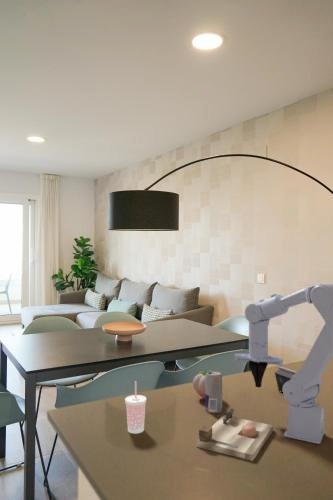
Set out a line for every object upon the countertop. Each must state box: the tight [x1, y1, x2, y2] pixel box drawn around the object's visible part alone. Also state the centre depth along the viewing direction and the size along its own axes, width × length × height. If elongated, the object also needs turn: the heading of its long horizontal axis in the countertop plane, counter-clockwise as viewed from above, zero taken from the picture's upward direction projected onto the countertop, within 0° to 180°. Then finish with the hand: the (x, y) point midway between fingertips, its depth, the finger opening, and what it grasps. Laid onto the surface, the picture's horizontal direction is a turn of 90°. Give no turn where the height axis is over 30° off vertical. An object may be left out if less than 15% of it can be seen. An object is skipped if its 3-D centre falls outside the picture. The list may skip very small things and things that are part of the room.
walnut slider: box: [198, 425, 212, 441], centre depth 108 cm, size 2×3×2 cm
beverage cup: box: [124, 380, 147, 434], centre depth 117 cm, size 6×6×14 cm
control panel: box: [196, 414, 274, 462], centre depth 112 cm, size 15×19×3 cm
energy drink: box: [204, 370, 223, 414], centre depth 132 cm, size 5×5×12 cm
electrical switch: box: [274, 366, 297, 393], centre depth 145 cm, size 9×5×9 cm, turn 30°
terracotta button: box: [241, 425, 257, 439], centre depth 112 cm, size 4×4×3 cm
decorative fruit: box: [192, 369, 207, 400], centre depth 141 cm, size 9×8×10 cm
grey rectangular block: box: [225, 408, 235, 420], centre depth 120 cm, size 1×3×3 cm, turn 151°
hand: (258, 386), depth 126 cm, fingers closed
